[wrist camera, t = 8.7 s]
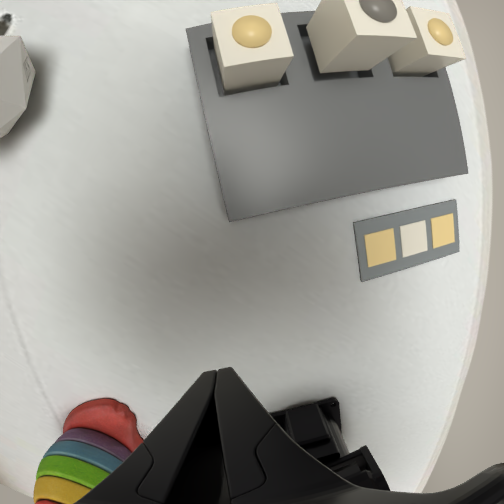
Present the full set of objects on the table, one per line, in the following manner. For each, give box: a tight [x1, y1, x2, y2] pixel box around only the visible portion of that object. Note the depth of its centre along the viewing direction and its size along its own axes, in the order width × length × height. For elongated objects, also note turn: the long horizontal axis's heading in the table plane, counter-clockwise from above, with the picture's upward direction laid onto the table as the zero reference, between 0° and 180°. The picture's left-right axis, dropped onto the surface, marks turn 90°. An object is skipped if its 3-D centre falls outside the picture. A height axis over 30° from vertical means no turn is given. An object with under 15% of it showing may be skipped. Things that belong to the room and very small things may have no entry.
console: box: [186, 11, 468, 222], centre depth 18 cm, size 12×17×3 cm
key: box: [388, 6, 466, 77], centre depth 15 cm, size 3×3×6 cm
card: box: [353, 199, 459, 282], centre depth 22 cm, size 4×10×1 cm, turn 103°
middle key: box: [306, 0, 417, 73], centre depth 12 cm, size 3×3×6 cm
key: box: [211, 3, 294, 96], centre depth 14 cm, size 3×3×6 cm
